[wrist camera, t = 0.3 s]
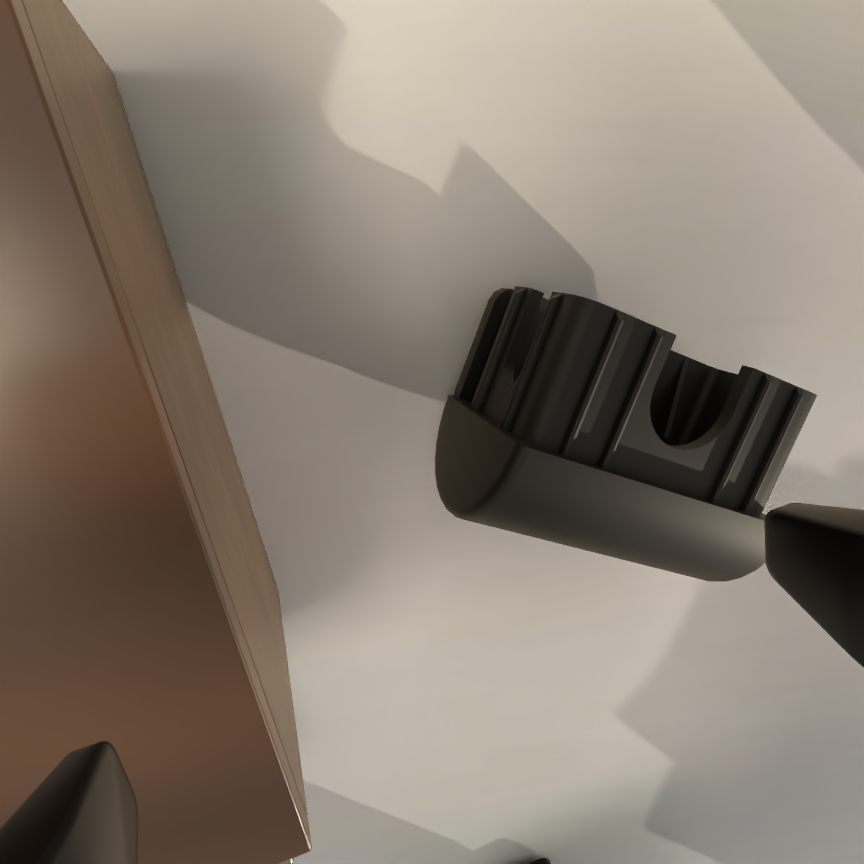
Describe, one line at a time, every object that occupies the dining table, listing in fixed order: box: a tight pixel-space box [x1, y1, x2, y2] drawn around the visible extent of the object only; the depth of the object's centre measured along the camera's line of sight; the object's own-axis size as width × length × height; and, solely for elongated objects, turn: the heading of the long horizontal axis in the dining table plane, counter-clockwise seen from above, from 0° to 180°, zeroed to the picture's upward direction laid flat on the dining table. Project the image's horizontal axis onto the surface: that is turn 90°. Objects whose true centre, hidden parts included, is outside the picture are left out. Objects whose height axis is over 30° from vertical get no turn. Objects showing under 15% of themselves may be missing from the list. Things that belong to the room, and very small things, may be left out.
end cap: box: [435, 286, 817, 581], centre depth 21 cm, size 10×7×7 cm
